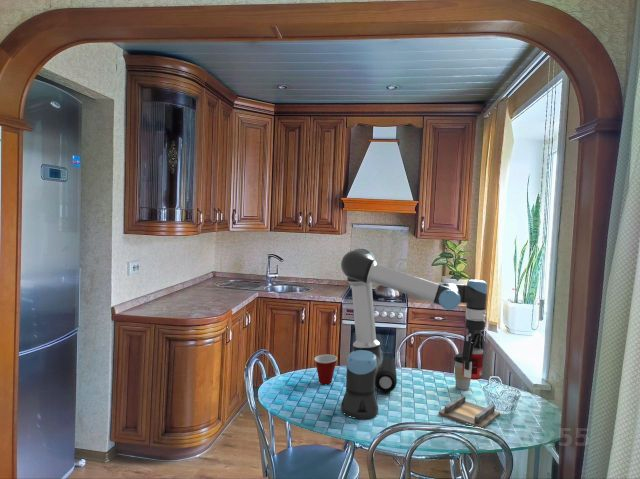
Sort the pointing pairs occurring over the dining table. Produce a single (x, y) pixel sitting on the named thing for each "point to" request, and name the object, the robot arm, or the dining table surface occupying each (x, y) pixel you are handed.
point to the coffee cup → (460, 374)
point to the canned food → (476, 364)
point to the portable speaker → (386, 376)
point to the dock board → (469, 412)
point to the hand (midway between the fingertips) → (472, 374)
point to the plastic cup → (325, 367)
